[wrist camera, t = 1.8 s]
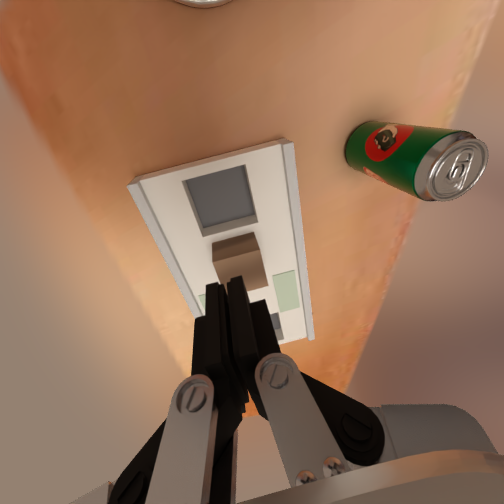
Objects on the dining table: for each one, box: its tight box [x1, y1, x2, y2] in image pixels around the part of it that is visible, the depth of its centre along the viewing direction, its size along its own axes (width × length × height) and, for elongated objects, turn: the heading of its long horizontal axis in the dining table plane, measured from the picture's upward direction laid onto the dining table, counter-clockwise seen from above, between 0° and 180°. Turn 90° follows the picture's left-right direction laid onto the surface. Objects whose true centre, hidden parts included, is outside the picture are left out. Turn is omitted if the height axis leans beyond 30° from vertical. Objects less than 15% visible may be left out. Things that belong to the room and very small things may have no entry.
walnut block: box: [212, 232, 269, 295], centre depth 27 cm, size 5×5×4 cm
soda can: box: [346, 121, 488, 201], centre depth 22 cm, size 5×5×12 cm
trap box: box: [127, 138, 315, 345], centre depth 32 cm, size 30×16×3 cm, turn 13°
